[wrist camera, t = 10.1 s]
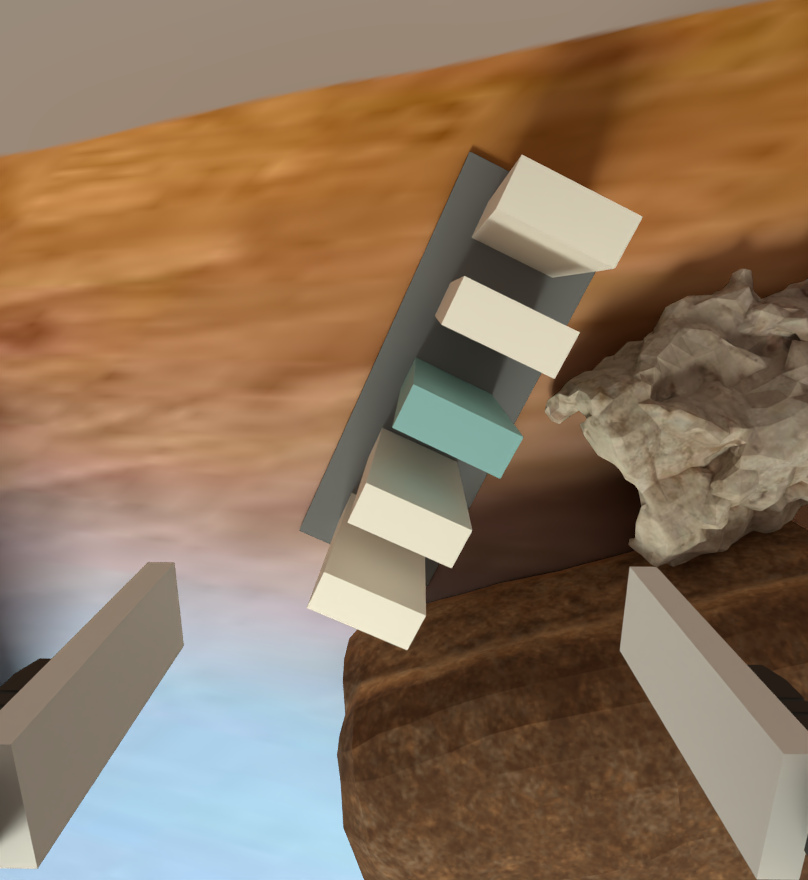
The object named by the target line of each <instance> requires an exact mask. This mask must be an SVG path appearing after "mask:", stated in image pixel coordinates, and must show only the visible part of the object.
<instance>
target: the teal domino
mask: <svg viewBox="0 0 808 880" xmlns="http://www.w3.org/2000/svg"><path fill="white" fill-rule="evenodd" d="M392 428H394V429H396V430H398V431H400V432H402V433H404V434H407V435H409V436H411V437H413V438H415V439H417V440H419V441H421V442H423V443H426V444H428V445H430V446H432V447H434V448H436V449H438V450H440V451H442V452H445V453H447V454H449V455H451V456H453V457H455V458H457V459H459V460H461V461H464V462H466V463H468V464H470V465H472V466H474V467H476V468H478V469H481V470H483V471H485V472H487V473H489V474H491V475H493V476H495V477H497V478H501V477H502V475H503V473H504V471H505V469H506V468H507V466H508V464H509V462H510V460H511V459H512V457H513V455H514V453H515V452H516V450H517V448H518V446H519V444H520V443H521V441H522V439H523V436H522V434H521V433H520V432H519V430H518V429H517V428H516V426H515V425H514V424H513V422H512V421H511V419H510V418H509V417H508V415H507V414H506V413H505V411H504V410H503V409H502V407H501V406H500V405H499V403H498V402H497V400H496V399H495V398H494V396H493V395H492V394H490V393H488V392H486V391H484V390H482V389H480V388H478V387H476V386H474V385H472V384H469V383H467V382H465V381H463V380H461V379H459V378H457V377H455V376H453V375H451V374H449V373H447V372H445V371H443V370H441V369H439V368H437V367H435V366H433V365H430V364H428V363H426V362H424V361H422V360H420V359H418V358H415V360H414V362H413V364H412V366H411V368H410V370H409V372H408V374H407V376H406V378H405V380H404V382H403V384H402V387H401V389H400V394H399V399H398V403H397V408H396V412H395V417H394V422H393V426H392Z"/></svg>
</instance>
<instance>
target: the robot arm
mask: <svg viewBox="0 0 808 880" xmlns="http://www.w3.org/2000/svg"><path fill="white" fill-rule="evenodd" d="M183 646H184V643H183V635H182V626H181V617H180V608H179V599H178V590H177V581H176V572H175V563H174V562H148V563H147V564H146V565H145V566H144V567H143V568H142V569H141V570H140V571H139V572H138V573H137V574H136V575H135V576H134V577H133V578H132V579H131V580H130V581H129V582H128V583H127V584H126V585H125V586H124V587H123V588H122V589H121V590H120V591H119V592H118V593H117V594H116V595H115V596H114V597H113V598H112V599H111V600H110V601H109V602H108V603H107V604H106V605H105V606H104V607H103V608H102V609H101V610H100V611H99V612H98V613H97V614H96V615H95V616H94V617H93V618H92V619H91V620H90V621H89V622H88V623H87V624H86V625H85V626H84V627H83V628H82V629H81V630H80V631H79V632H78V633H77V634H76V635H75V636H74V637H73V638H72V639H71V640H70V641H69V642H68V643H67V644H66V645H65V646H64V647H63V648H62V649H61V650H60V651H59V652H58V653H57V654H56V655H55V656H54V657H53V658H52V659H38V660H37V661H35V662H33V663H32V664H30V665H28V666H27V667H25V668H23V669H22V670H20V671H18V672H17V673H15V674H14V675H13V676H12V677H11V678H10V679H9V680H8V681H7V682H6V683H4V684H3V685H2V686H1V687H0V868H20V869H38V867H39V866H40V864H41V863H42V861H43V860H44V858H45V857H46V855H47V853H48V852H49V850H50V849H51V847H52V846H53V844H54V843H55V841H56V840H57V838H58V837H59V835H60V834H61V832H62V831H63V829H64V828H65V826H66V824H67V823H68V821H69V820H70V818H71V817H72V815H73V814H74V812H75V811H76V809H77V808H78V806H79V805H80V803H81V802H82V800H83V799H84V797H85V796H86V794H87V792H88V791H89V789H90V788H91V786H92V785H93V783H94V782H95V780H96V779H97V777H98V776H99V774H100V773H101V771H102V770H103V768H104V767H105V765H106V763H107V762H108V760H109V759H110V757H111V756H112V754H113V753H114V751H115V750H116V748H117V747H118V745H119V744H120V742H121V741H122V739H123V738H124V736H125V734H126V733H127V731H128V730H129V728H130V727H131V725H132V724H133V722H134V721H135V719H136V718H137V716H138V715H139V713H140V712H141V710H142V709H143V707H144V706H145V704H146V702H147V701H148V699H149V698H150V696H151V695H152V693H153V692H154V690H155V689H156V687H157V686H158V684H159V683H160V681H161V680H162V678H163V677H164V675H165V673H166V672H167V670H168V669H169V667H170V666H171V664H172V663H173V661H174V660H175V658H176V657H177V655H178V654H179V652H180V651H181V649H182V648H183ZM620 652H621V653H622V655H623V657H624V658H625V660H626V662H627V663H628V665H629V667H630V668H631V670H632V672H633V673H634V675H635V677H636V678H637V680H638V682H639V683H640V685H641V687H642V688H643V690H644V692H645V693H646V695H647V697H648V698H649V700H650V702H651V703H652V705H653V707H654V709H655V710H656V712H657V714H658V715H659V717H660V719H661V720H662V722H663V724H664V725H665V727H666V729H667V730H668V732H669V734H670V735H671V737H672V739H673V740H674V742H675V744H676V745H677V747H678V749H679V750H680V752H681V754H682V755H683V757H684V759H685V760H686V762H687V764H688V765H689V767H690V769H691V770H692V772H693V774H694V775H695V777H696V779H697V780H698V782H699V784H700V785H701V787H702V789H703V790H704V792H705V794H706V795H707V797H708V799H709V800H710V802H711V804H712V806H713V807H714V809H715V811H716V812H717V814H718V816H719V817H720V819H721V821H722V822H723V824H724V826H725V827H726V829H727V831H728V832H729V834H730V836H731V837H732V839H733V841H734V842H735V844H736V846H737V847H738V849H739V851H740V852H741V854H742V856H743V857H744V859H745V861H746V862H747V864H748V866H749V867H750V869H751V871H752V872H753V874H754V876H755V877H756V879H769V880H799V879H800V875H801V870H802V866H803V862H804V858H805V854H807V856H808V701H804V697H803V696H802V695H801V694H800V693H799V692H798V691H797V690H796V689H795V688H794V687H793V686H792V685H791V684H790V683H789V682H788V681H787V680H785V679H784V678H782V677H781V676H779V675H778V674H776V673H774V672H773V671H771V670H770V669H768V668H767V667H765V666H763V665H747V664H746V663H745V662H744V661H743V660H742V659H741V658H740V657H739V656H738V655H737V654H736V653H735V651H734V650H733V649H732V648H731V647H730V646H729V645H728V644H727V643H726V642H725V641H724V640H723V638H722V637H721V636H720V635H719V634H718V633H717V632H716V631H715V630H714V629H713V628H712V627H711V625H710V624H709V623H708V622H707V621H706V620H705V619H704V618H703V617H702V616H701V615H700V614H699V612H698V611H697V610H696V609H695V608H694V607H693V606H692V605H691V604H690V603H689V602H688V601H687V599H686V598H685V597H684V596H683V595H682V594H681V593H680V592H679V591H678V590H677V589H676V588H675V586H674V585H673V584H672V583H671V582H670V581H669V580H668V579H667V578H666V577H665V576H664V575H663V573H662V572H661V571H660V570H659V569H658V568H657V567H630V568H629V576H628V584H627V593H626V601H625V610H624V618H623V626H622V635H621V643H620Z"/></svg>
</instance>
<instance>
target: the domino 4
mask: <svg viewBox="0 0 808 880" xmlns="http://www.w3.org/2000/svg"><path fill="white" fill-rule="evenodd" d="M435 317H436V318H437V320H438V321H439V322H440V324H441V325H443V326H445V327H447V328H450V329H452V330H454V331H456V332H458V333H460V334H462V335H464V336H466V337H468V338H470V339H472V340H475V341H477V342H479V343H481V344H483V345H485V346H487V347H489V348H491V349H493V350H495V351H497V352H500V353H502V354H504V355H506V356H508V357H510V358H512V359H514V360H516V361H518V362H520V363H522V364H525V365H527V366H529V367H531V368H533V369H535V370H537V371H539V372H541V373H543V374H545V375H547V376H550V377H552V378H554V379H555V377H556V376H557V374H558V372H559V370H560V368H561V366H562V365H563V363H564V361H565V359H566V357H567V355H568V354H569V352H570V350H571V348H572V346H573V344H574V343H575V341H576V339H577V337H578V335H579V333H580V332H578V331H576V330H574V329H572V328H570V327H568V326H566V325H563V324H561V323H559V322H557V321H555V320H553V319H551V318H549V317H547V316H545V315H543V314H541V313H539V312H537V311H535V310H533V309H531V308H529V307H527V306H525V305H523V304H521V303H519V302H517V301H515V300H512V299H510V298H508V297H506V296H504V295H502V294H500V293H498V292H496V291H494V290H492V289H490V288H488V287H486V286H484V285H482V284H480V283H478V282H476V281H474V280H472V279H470V278H468V277H466V276H463V277H461V278H459V279H457V280H455V281H453V282H451V283H450V284H449V287H448V289H447V291H446V293H445V295H444V297H443V299H442V301H441V304H440V306H439V308H438V310H437V312H436V314H435Z"/></svg>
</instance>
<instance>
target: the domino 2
mask: <svg viewBox="0 0 808 880" xmlns="http://www.w3.org/2000/svg"><path fill="white" fill-rule="evenodd" d="M355 498H356V495H355V494H353V493H351V496H350V498H349V500H348V502H347V504H346V506H345V508H344V510H343V513H342V515H341V517H340V519H339V522H338V524H337V527H336V530H335V532H334V535H333V538H332V541H331V543H330V546H329V549H328V552H327V554H326V557H325V560H324V563H323V565H322V568H321V571H320V573H319V576H318V579H317V582H316V584H315V587H314V590H313V593H312V595H311V598H310V601H309V604H308V606H307V608H308V609H311V610H313V611H315V612H318V613H320V614H322V615H325V616H327V617H330V618H332V619H334V620H337V621H339V622H341V623H344V624H346V625H348V626H351V627H353V628H356V629H358V630H360V631H363V632H365V633H367V634H370V635H372V636H374V637H377V638H379V639H382V640H384V641H386V642H389V643H391V644H393V645H396V646H398V647H400V648H403V649H405V650H408V648H409V646H410V644H411V642H412V641H413V639H414V637H415V635H416V633H417V631H418V630H419V628H420V626H421V624H422V622H423V620H424V619H425V617H426V585H425V556H422V555H420V554H418V553H415V552H413V551H411V550H409V549H406V548H404V547H402V546H400V545H397V544H395V543H393V542H390V541H388V540H386V539H384V538H381V537H379V536H377V535H375V534H372V533H370V532H368V531H365V530H363V529H361V528H359V527H356V526H354V525H352V524H350V523H347V522H348V519H349V516H350V513H351V510H352V507H353V504H354V501H355Z"/></svg>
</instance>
